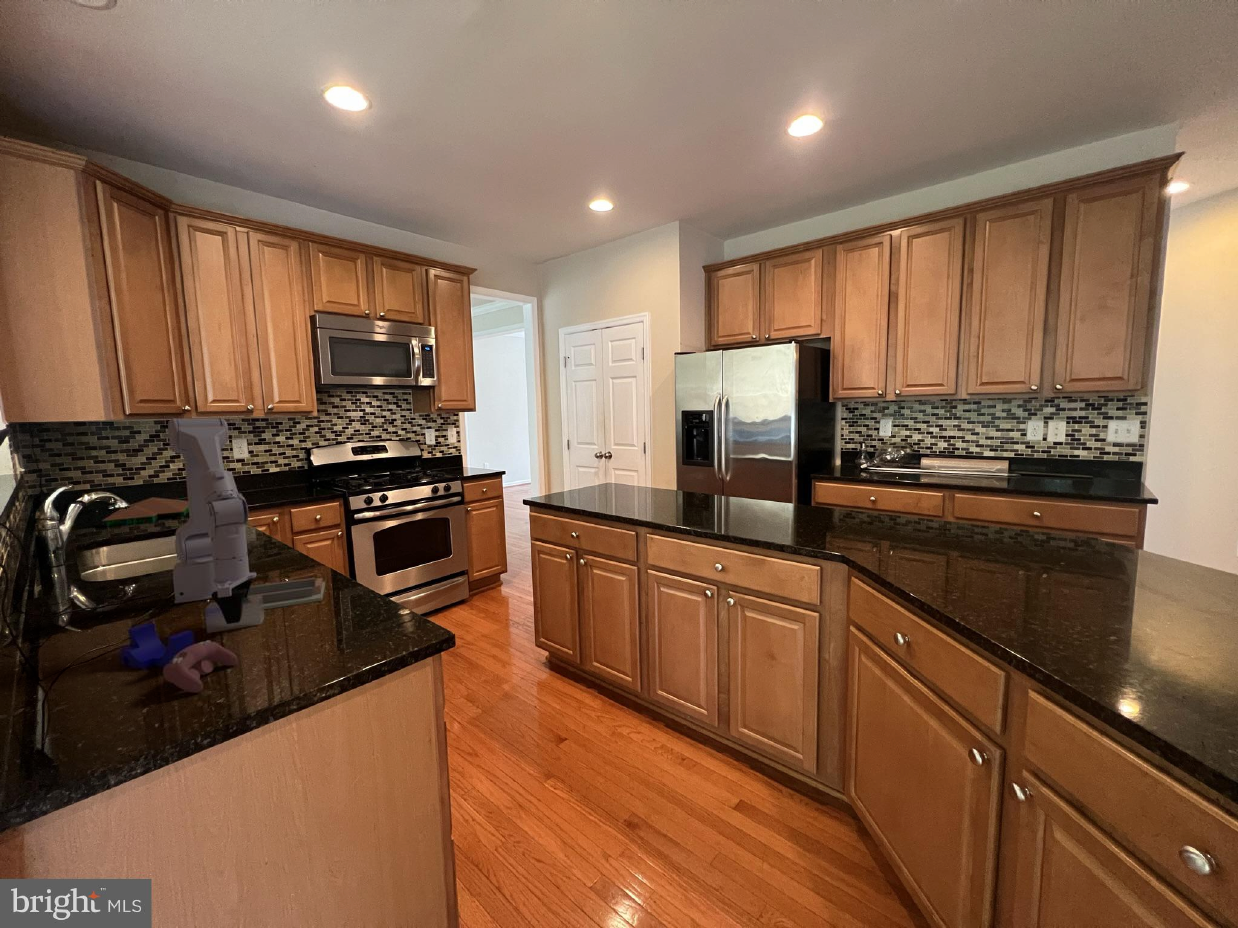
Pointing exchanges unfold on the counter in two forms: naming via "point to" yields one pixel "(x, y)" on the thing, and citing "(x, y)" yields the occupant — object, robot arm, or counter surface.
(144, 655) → the cable clip
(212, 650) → the video game controller
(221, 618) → the block
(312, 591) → the drive tray
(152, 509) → the house
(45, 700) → the counter surface
